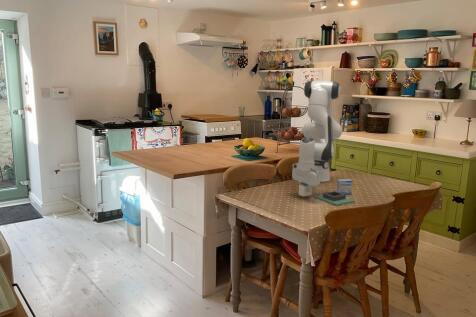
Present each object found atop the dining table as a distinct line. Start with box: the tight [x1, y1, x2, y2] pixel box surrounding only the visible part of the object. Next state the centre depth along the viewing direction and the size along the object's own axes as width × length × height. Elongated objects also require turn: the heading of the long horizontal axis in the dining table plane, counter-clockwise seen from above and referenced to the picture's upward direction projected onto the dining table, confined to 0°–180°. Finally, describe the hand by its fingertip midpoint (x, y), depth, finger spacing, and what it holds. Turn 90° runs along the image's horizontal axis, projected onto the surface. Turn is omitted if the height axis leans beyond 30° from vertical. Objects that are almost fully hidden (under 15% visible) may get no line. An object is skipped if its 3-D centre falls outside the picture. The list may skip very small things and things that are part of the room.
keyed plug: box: [298, 183, 313, 197], centre depth 224 cm, size 4×6×7 cm, turn 121°
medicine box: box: [335, 178, 353, 196], centre depth 233 cm, size 8×4×9 cm, turn 101°
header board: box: [313, 190, 356, 207], centre depth 221 cm, size 18×14×4 cm
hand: (305, 190), depth 224 cm, fingers closed on keyed plug, 4 cm apart
